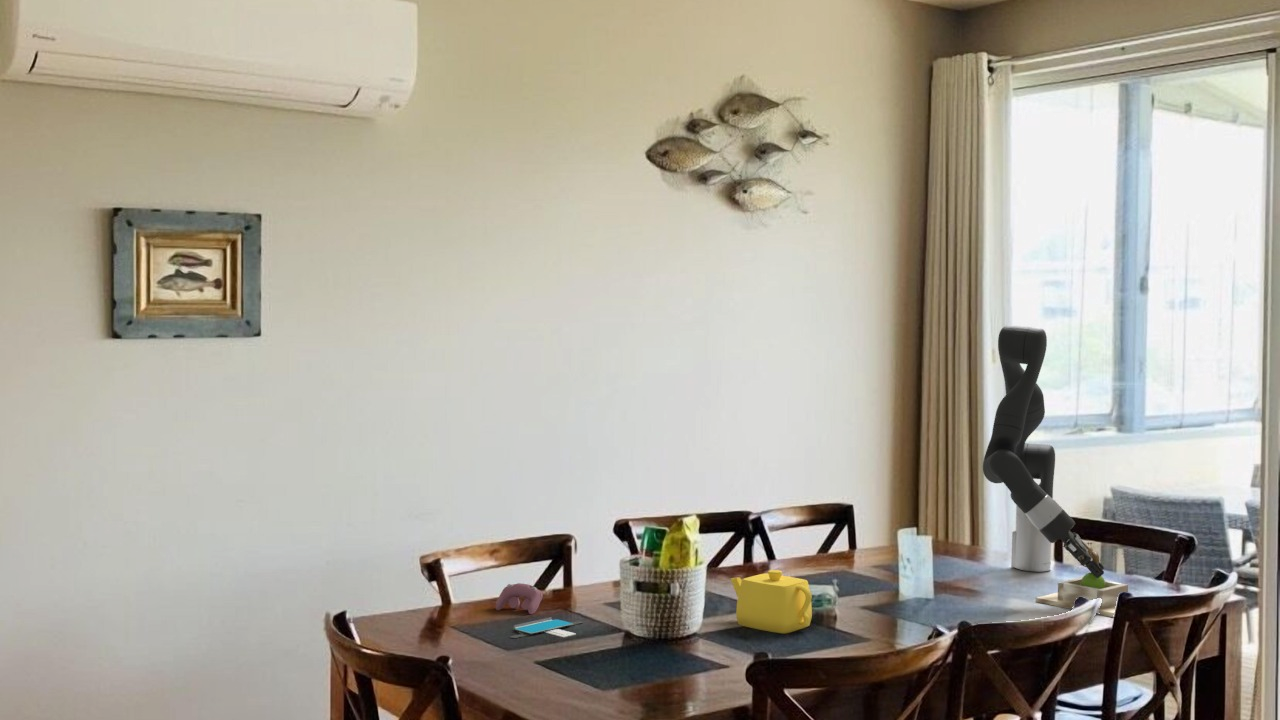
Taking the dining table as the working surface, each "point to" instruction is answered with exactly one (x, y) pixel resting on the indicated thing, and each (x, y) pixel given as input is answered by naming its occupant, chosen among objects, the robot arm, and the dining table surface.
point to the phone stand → (544, 627)
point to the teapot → (773, 602)
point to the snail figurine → (1089, 578)
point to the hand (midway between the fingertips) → (1100, 572)
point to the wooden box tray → (1085, 595)
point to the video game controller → (520, 590)
